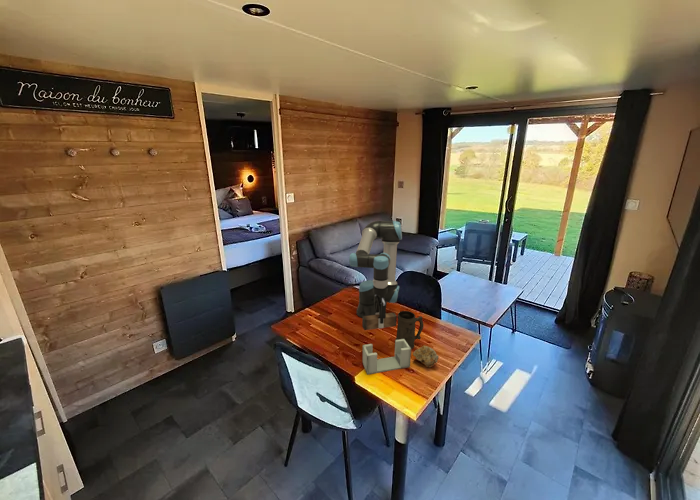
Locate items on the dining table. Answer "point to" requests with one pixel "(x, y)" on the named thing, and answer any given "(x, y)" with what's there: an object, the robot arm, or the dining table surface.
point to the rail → (372, 321)
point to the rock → (426, 355)
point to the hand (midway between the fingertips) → (379, 325)
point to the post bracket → (389, 363)
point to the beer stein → (408, 327)
